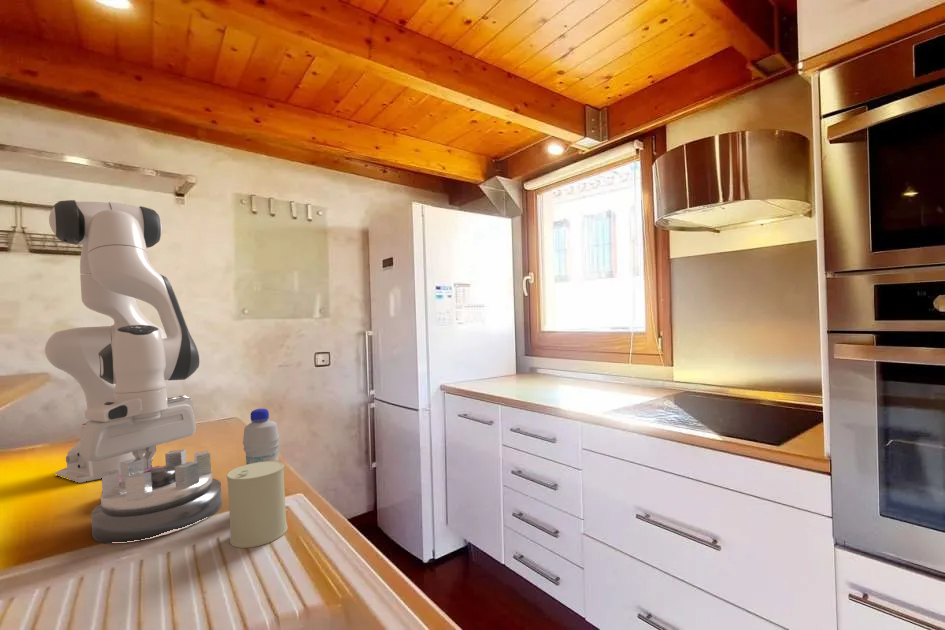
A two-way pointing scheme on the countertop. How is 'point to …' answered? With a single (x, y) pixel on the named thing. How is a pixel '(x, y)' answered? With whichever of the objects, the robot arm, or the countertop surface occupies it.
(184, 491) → the toothed metal gear
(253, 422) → the bottle
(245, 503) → the can
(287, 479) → the countertop surface
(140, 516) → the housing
